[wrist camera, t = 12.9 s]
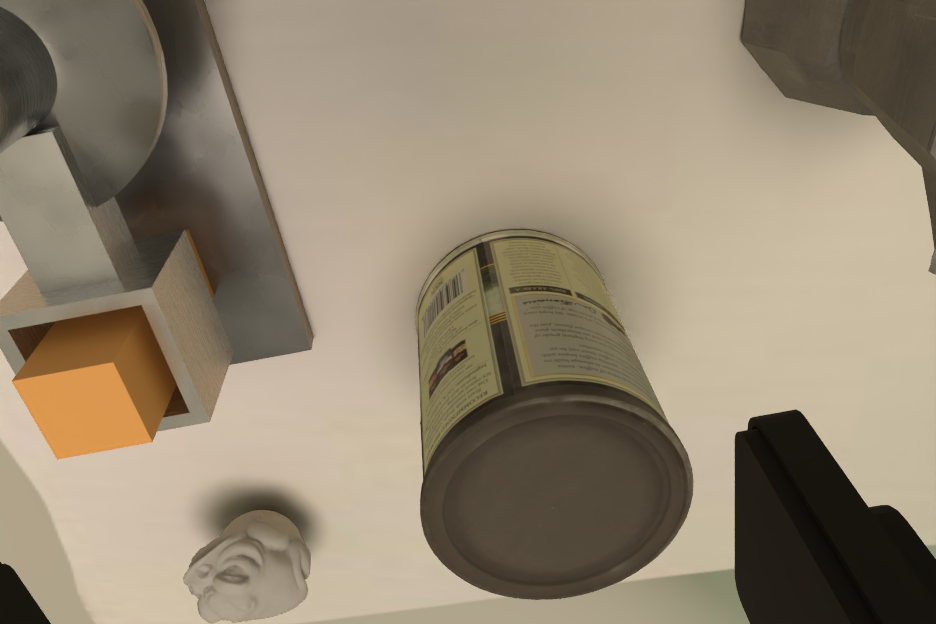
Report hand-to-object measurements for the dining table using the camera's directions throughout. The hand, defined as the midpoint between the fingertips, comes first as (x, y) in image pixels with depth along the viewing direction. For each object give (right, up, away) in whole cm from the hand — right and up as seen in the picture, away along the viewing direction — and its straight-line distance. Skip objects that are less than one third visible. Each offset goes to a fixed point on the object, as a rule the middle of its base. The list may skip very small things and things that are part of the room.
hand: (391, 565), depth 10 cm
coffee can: (+3, +3, +32) cm, 32 cm away
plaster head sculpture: (-11, -9, +38) cm, 40 cm away
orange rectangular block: (-13, +5, +27) cm, 31 cm away
